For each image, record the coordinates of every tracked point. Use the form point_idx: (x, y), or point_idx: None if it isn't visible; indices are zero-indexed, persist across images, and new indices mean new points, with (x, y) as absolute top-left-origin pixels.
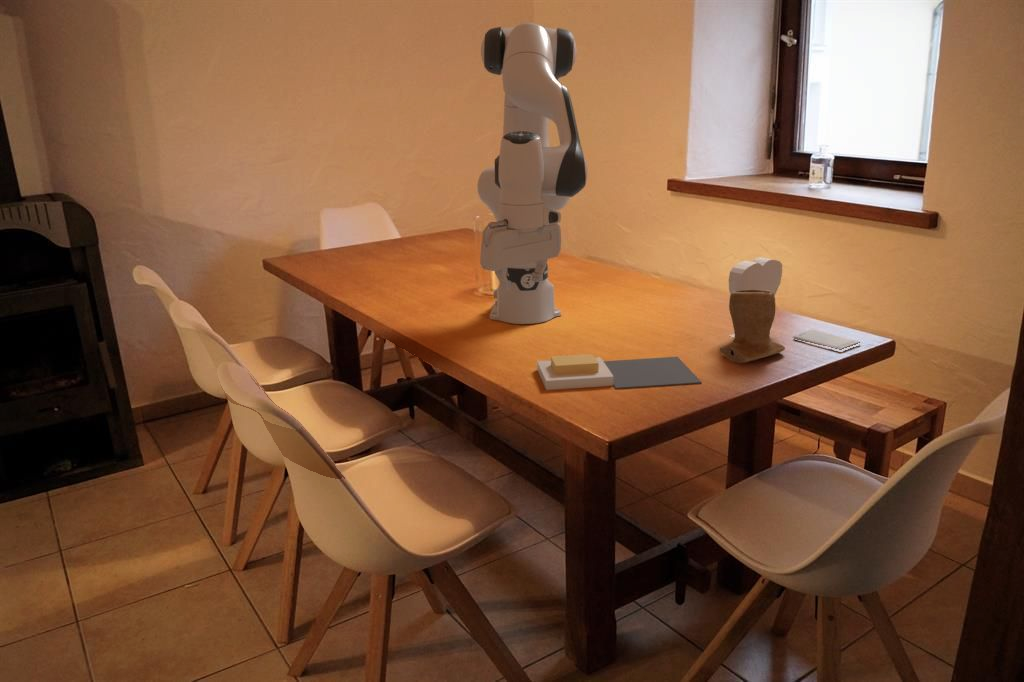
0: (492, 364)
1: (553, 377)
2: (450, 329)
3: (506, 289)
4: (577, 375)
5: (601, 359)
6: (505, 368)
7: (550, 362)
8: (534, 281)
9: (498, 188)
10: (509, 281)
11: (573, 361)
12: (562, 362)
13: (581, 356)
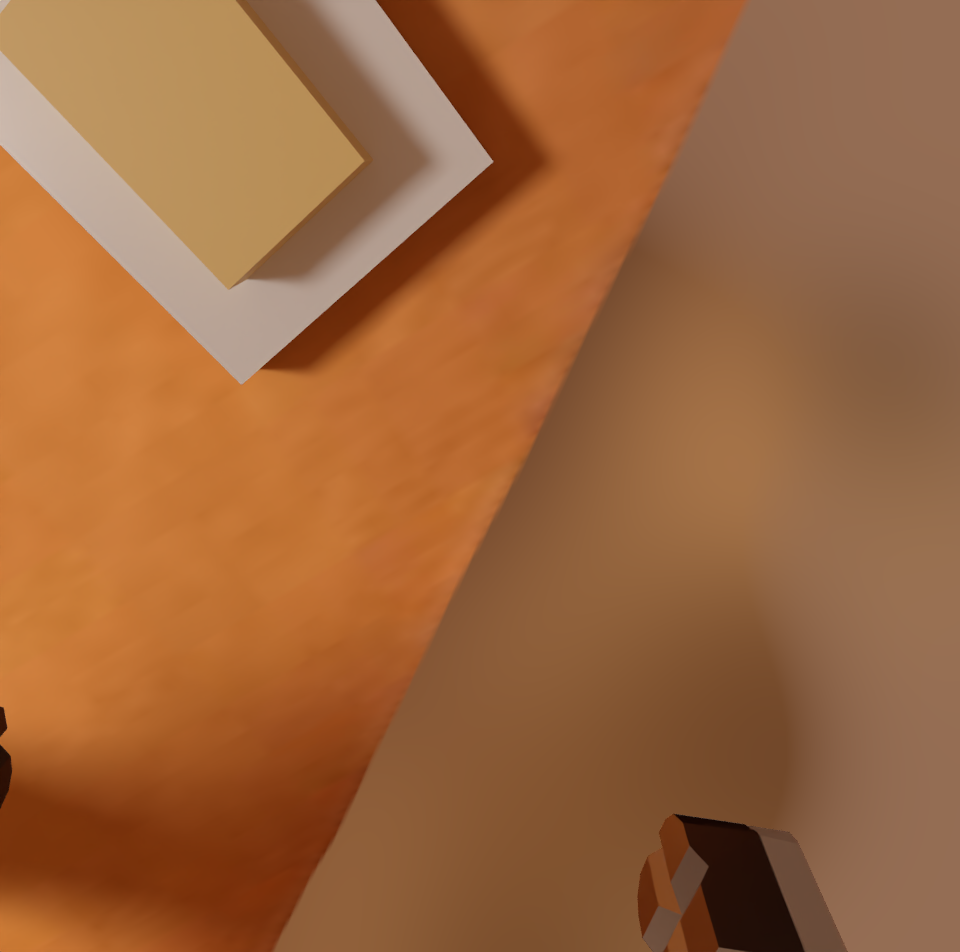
0: (325, 588)
1: (419, 149)
2: (90, 909)
3: (776, 831)
4: (301, 10)
5: None
6: (334, 514)
7: (210, 305)
8: (2, 755)
9: None
10: (755, 947)
11: (217, 85)
12: (280, 152)
13: (90, 85)
